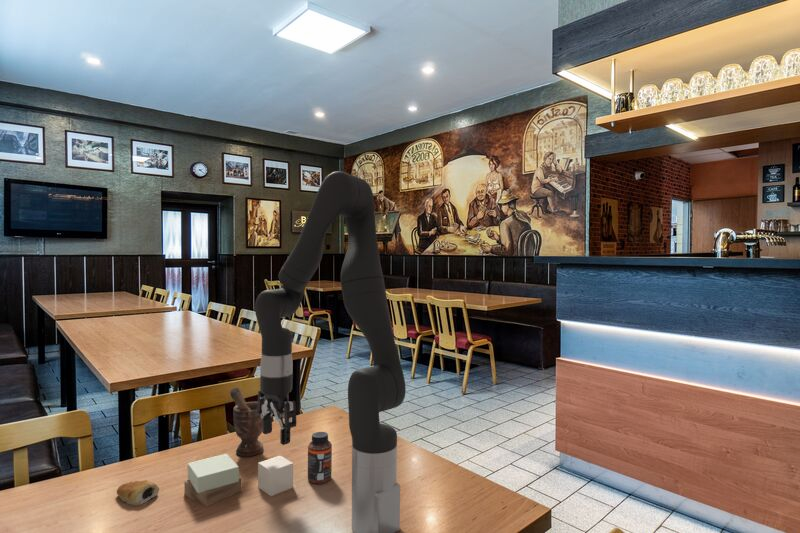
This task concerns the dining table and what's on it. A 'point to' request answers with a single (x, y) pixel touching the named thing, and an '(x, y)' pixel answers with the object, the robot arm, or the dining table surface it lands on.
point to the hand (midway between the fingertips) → (276, 438)
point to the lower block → (212, 493)
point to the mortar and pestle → (247, 424)
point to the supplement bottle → (319, 458)
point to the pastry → (137, 492)
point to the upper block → (213, 472)
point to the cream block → (275, 475)
